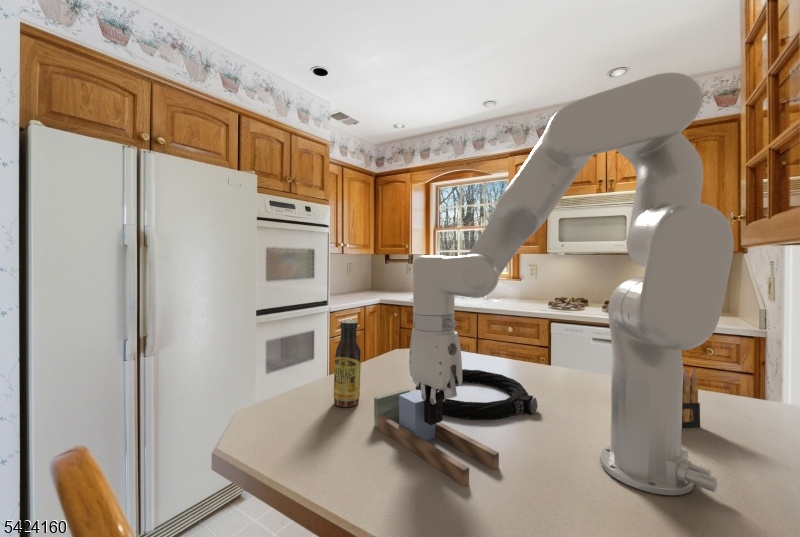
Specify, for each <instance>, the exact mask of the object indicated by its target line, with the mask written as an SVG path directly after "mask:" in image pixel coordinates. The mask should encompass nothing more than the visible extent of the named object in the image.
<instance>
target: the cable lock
mask: <svg viewBox="0 0 800 537" xmlns="http://www.w3.org/2000/svg"><path fill="white" fill-rule="evenodd" d="M462 383H475V384H476V383H477V384H480V385H481V384H482V385H489V386H493V387H496V388H497V389H501V390H505V391H506V392H508V394H509V395H511V396H509V397H507V398H506V399H501V400H494V401H488V402H483V401H480V402H479V401H463V400H455V399H452V398H446V399H445V401H443V415H447V416H450V417H455V418H462V419H470V420H471V419H472V420H490V419H491V420H493V419H502V418H506V417H510V416H511V415H513V416H519V415H522V414H525V415H530V414H532V415H536V413H537V410H538V407H539V406H538V400H537V397H534V395H530V394H529V393H528V392H527V390H526V389H525V388H524V385H522V384H521V383H520V382H518V381H517V380H515V379H514V378H510V377H508V376H506V375H504V374H499V373H495V372H489V371H484V370H480V369H466V368H462ZM416 390H420V388H419V387H418V386H417V385H415V391H416Z"/></svg>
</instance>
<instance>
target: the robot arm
mask: <svg viewBox="0 0 800 537" xmlns="http://www.w3.org/2000/svg"><path fill="white" fill-rule="evenodd" d="M702 104H703V91H702V89H701V86H700V85H699V84H698V82H697V81H696V80H695V79H694V78H692V77H691V76H688V75H686V74H683V73H679V72H662V73H657V74H655V75H650V76H647V77H644V78H640V79H637V80H635V81H632V82H629V83H626V84H622V85H619V86H617V87H613V88H610V89H607V90H606V89H605V90H604V91H602V92H597V93H594V94H592V95H589V96H586V97H583V98H580V99H578V100H575V101H573V102H571V103H568V104H567V105H566V104H565V105H564V106H563V107H561V108H560V109H559V110H557V111H556V112H555V113H554V114H553V116H552V117H551V118H550V120H549V121H548V124H547V126H546V128H545V130H544V132H543V134H542V135H541V137H540V139H539V140H538V142H537V143H536V145H535V146H534V147H533V149H532V151H531V152H530V154H529V155H528V157H527V158H526V160H525V161H524V163H523V164H522V166H521V167H520V169H519V170H518V172H517V173H516V174H515V175H514V177H513V178H512V180H511V181H510V183H509V184H508V185H507V187H506V189H505V190H504V191H503V193H502V195H500V198H499V200H498V202H497V204H496V205H495V209H494V211H493V213H492V215H491V217H490V219H489V222H488V223H487V225H486V226H485V228H484V230H483V231H482V232H481V234H480V236H479V237H478V239H477V240H476V241H475V243H474V245H472V247H471V249H470V250H469V252H468V253H467V255H458V256H449V255H439V254H438V255H437V254H435V255H434V254H433V255H432V254H430V255H429V254H428V255H425V254H424V255H419V256H417V257H415V259H414V261H413V263H412V264H413V265H412V266H413V267H412V268H413V269H412V272H413V273H412V275H413V276H412V277H413V278H412V281H413V282H412V284H413V286H412V287H413V288H412V290H413V291H412V292H413V293H412V294H413V295H412V301H413V302H412V303H413V304H412V307H413V309H412V315H413V316H412V322H413V323H412V330H411V336H410V342H409V343H410V344H409V353H408V354H409V357H408V367H409V368H408V369H409V370H408V371H409V376H410V377H411V378H412V382H413V383H414V384H415V386H418V387H419V388H420V390H421V396H422V399H423V400H425V401H424V422H425V423H428V424H429V425H433V424H436V423H439V422H441V423H442V422H443V420H444V419H443V417H444V416H443V415H444V414H443V401H445V399H446V398H447V399H453V398H456V397H457V396H458V393H457V388H456V387H460V386H462V384H463V382H462V369H463V363H462V362H463V361H462V359H463V358H462V349H461V343H460V339H459V333H458V332H457V331H455V328H457V325H458V323H457V320H455V298H456V297H455V296H458V297H465V298H475V299H479V298H484V297H487V296H488V295H490V294H491V293H492V292H493V291H495V289H496V288H497V286H498V283H499V281H500V280H499V279H500V276H501V274H502V273H503V272H504V270H505V269H506V267H507V266H508V265H509V263H510V262H511V260H512V259H513V258H514V256H515V255H516V253H517V252H518V251H519V249H521V248H522V247H523V245H524V244H525V243H526V241H527V240H528V239H529V238H530V237H531V236H533V235H534V234H535V233H536V232H537V231H538V230H539V229H540V228H541V226H543V224H544V223H545V222H546V220H547V219H548V218H549V217H550V215H551V213H553V211H554V209H555V208H556V206H557V205H558V204H559V202H560V201H561V199H562V198H563V197H564V195H565V194H566V192H567V191H568V190H569V189H570V187H571V186H572V185H573V183H574V182H575V180H576V179H577V177H578V176H579V174H580V173H581V172H582V170H583V169H584V167H585V166H586V165H587V164H588V162H589V161H590V159H592V157H594V156H595V155H598V154H603V153H607V152H611V151H617V152H618V154H620V155H621V156H622V157H624V158H625V159H626V160H627V161H628V162H629V163H630V164H631V166H632V167H633V169H634V172H635V176H636V178H635V179H636V183H635V193H634V194H635V195H634V200H633V206H632V211H631V217H630V222H629V227H628V231H627V236H626V242H625V244H626V250H627V253H628V255H629V258H630V259H631V260H632V261H633V262H634V263H635V264H637V265H639V266H642V267H643V268H644V273H643V274H644V275H643V276H641V277H640V276H639V277H634V278H630V279H627V280H625V281H623V282H622V283H620V284H619V285H618V286H616V288H615V289H614V290H613V292H612V293H611V296H610V298H609V302H608V312H607V314H608V322H609V331H610V342H611V378H610V379H611V380H610V381H611V385H610V386H611V392H610V446H609V445H608V446H607V447H605V448H603V449H602V450H601V451H600V453H599V462H600V465H601V467H602V468H603V469H604V470H605V472H606V473H607V474H609V475H610V476H612V477H613V478H615V479H616V480H618V482H621V483H622V484H625V485H627V486H629V487H632V488H634V489H637V490H640V491H644V492H646V493H650V494H656V495H661V496H662V495H664V496H682V495H685V494H688V493H689V492H691V491H692V490H693V488H694V485H696V486H698V487H699V488H702V489H704V490H707V491H710V492H712V493H716V491H717V489H718V479H717V478H716V477H714V476H712V470H710V469H708V468H706V467H703V466H699V465H696V464H694V463H692V461H690V460H689V452H688V451H687V450H684V449H682V444H683V443H682V441H683V440H682V439H683V438H682V435H683V433H682V430H683V428H682V391H683V371H684V365H683V364H684V363H683V362H684V361H683V355H682V351H688V350H692V349H695V348H697V347H699V346H701V345H703V344H704V343H705V342H706V341H708V340H709V339H710V338H711V336H712V335H713V334H714V332H715V331H716V328H717V327H718V324H719V321H720V318H721V314H722V311H723V306H724V300H725V296H726V292H727V286H728V281H729V276H730V272H731V267H732V263H733V262H732V261H733V255H734V247H735V240H734V238H735V237H734V234H733V229H732V226H731V223H730V221H729V220H728V219H727V217H726V216H725V214H723V213H722V212H721V211H720V210H719V209H717V208H716V207H714V206H712V205H709V204H708V203H704V202H703V203H702V202H701V201H702V192H703V184H704V165H703V160H702V159H701V156H700V154H699V152H698V151H697V150H696V148H695V146H694V145H693V144H692V143H691V142H690V141H689V139H688V138H687V137H686V136H685V135H684V134H682V132H683V131H684V130H686V128H688V127H689V126H690V125H691V124H692V122H694V120H695V119H696V118H697V117H698V115H699V112H700V111H701V108H702Z"/></svg>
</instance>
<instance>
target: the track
mask: <svg viewBox="0 0 800 537" xmlns="http://www.w3.org/2000/svg"><path fill="white" fill-rule="evenodd" d="M409 392H411V391H410V389H408V388H403V389H400V390H397V391H391V392H389V393H385V394H382V395H379V396H375V397H374V398H373V400H374V401H373V403H374V404H373V406H374V407H373V408H374V409H373V410H374V412H373V415H374V418H373V419H374V420H373V423H374V427H376V429H379V431H381V432H382V433H384V434H385V435H387V436H388V437H390V438H392V439H393V440H395V442H397V443H399V444H401V445H402V446H404V447H405V448H407V449H408V450H409V451H411V452H412V453H414V454H415V455H417V456H418V457H420V458H421V459H423V460H424V461H425V462H427V463H428V464H430V465H431V466H433V467H434V468H436V469H437V470H438V471H440V472H442V473H444V475H446V476H447V477H449V478H451V479H453V481H455V482H456V483H458V484H460V485H461V486H462V487H465V486H467V485H469V484H470V467H469V466H467V465H466V464H464V463H463V462H461V461H459V460H457V459H456V458H455V457H453V456H451V455H449V454H448V453H446V452H444V451H443V450H442V449H440V448H438V447H436V446H435V445H434V444H432V443H430V442H429V441H425V440H423V439H422V438H420V437H418V436H417V435H415V434H413V433H412V432H410V431H409V430H407V429H405V428H404V427H402V426H400V425H399V423H397V422H399V395H402V394H405V393H409ZM436 437H437V438H438V439H440V440H441V441H443V442H445V443H446V444H448V445H449V446H452V447H453V448H456V450H459V451H460V452H463V453H464V454H466V455H468V456H469V457H471V458H472V459H475V460H476V461H478V462H479V463H481V464H483V465H485V466H487V467H488V468H490V469H492V470H497V469H498V468H500V452H498V451H497V450H495V449H493V448H491V447H489V446H487V445H485V444H483V443H481V442H479V441H478V440H476V439H473V438H472V437H469V436H468V435H466V434H464V433H463V432H460V431H458V430H456V429H454V428H453V427H451V426H448V425H447V424H445V423H444V422H442V421H441V422H439V423H436V424H435V438H436Z"/></svg>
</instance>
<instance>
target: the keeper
mask: <svg viewBox="0 0 800 537" xmlns="http://www.w3.org/2000/svg"><path fill="white" fill-rule="evenodd" d="M424 401H425V400H423V399H422V396H421V390H416V389H415V390H413V391H410V392H409V393H405V394H402V395H399V421H398V424H399V425H400V426H402V427H404V428H405V429H407V430H409V431H410V432H412V433H413V434H415V435H417V436H418V437H420V438H422V439H423V440H425V441H427V442H429V441H431V440H434V439H436V436H435V424H433V425H429V424H428V423H425V422H424Z"/></svg>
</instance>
